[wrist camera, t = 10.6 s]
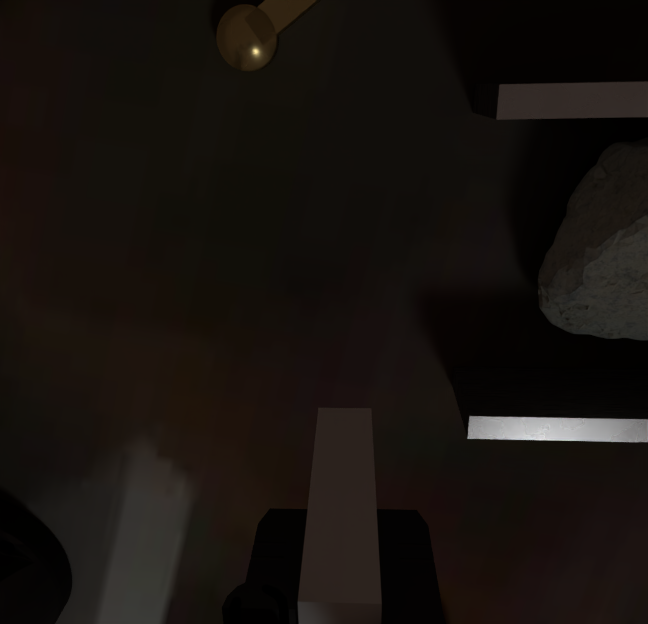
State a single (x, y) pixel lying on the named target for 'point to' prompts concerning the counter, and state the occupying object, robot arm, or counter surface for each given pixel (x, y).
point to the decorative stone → (602, 250)
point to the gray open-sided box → (556, 383)
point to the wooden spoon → (257, 31)
